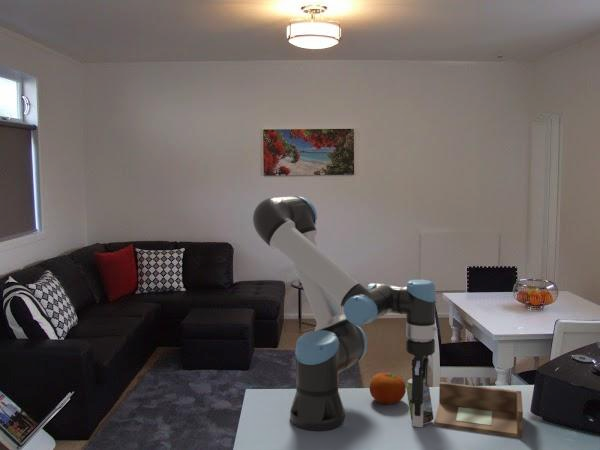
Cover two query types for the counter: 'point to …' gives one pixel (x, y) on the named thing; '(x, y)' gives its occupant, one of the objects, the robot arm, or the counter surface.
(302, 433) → the counter surface
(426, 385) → the labeled jar
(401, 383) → the fruit
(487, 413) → the tray
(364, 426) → the counter surface
